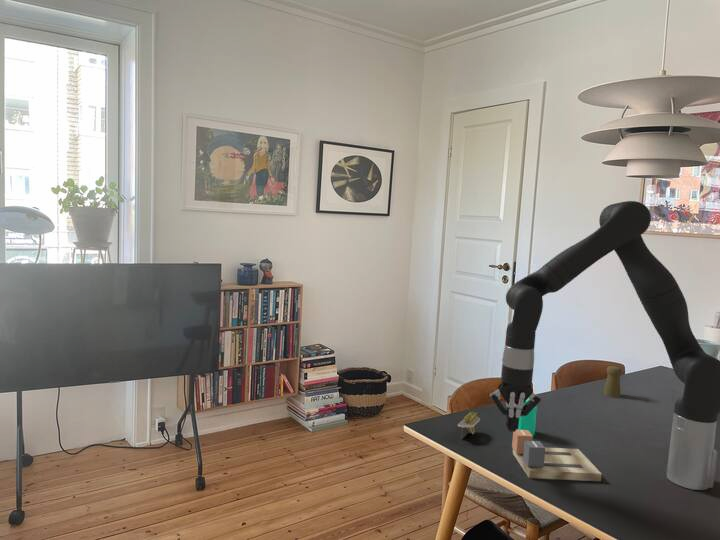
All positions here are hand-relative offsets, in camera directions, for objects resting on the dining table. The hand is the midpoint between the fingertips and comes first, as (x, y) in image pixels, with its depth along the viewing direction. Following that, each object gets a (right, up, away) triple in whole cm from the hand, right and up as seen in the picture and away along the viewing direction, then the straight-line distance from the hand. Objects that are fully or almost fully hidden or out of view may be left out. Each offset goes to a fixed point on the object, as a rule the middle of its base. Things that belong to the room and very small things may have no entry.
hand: (511, 430), depth 134 cm
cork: (+57, -7, +67) cm, 88 cm away
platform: (-6, -9, +22) cm, 24 cm away
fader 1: (+5, -8, +8) cm, 12 cm away
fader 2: (+6, -9, +1) cm, 10 cm away
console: (+13, -11, +5) cm, 17 cm away
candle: (+11, -9, +26) cm, 30 cm away
